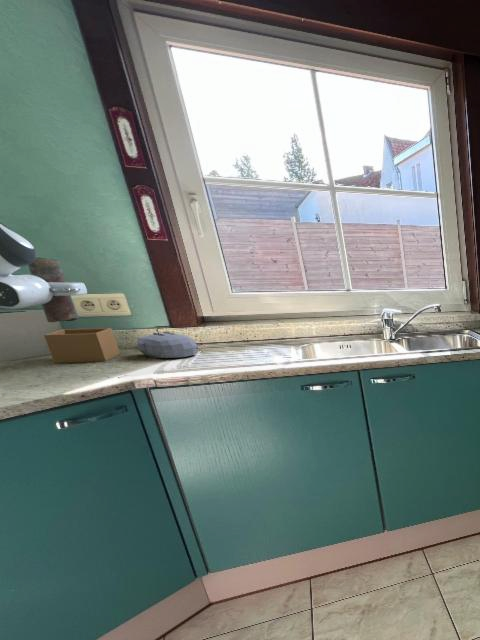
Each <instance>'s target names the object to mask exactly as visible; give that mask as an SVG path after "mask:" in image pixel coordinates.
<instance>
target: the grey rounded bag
mask: <svg viewBox="0 0 480 640" xmlns="http://www.w3.org/2000/svg"><path fill="white" fill-rule="evenodd" d="M136 346H137V347H138V350H139V351H140V353H141V354H143V355H145V356H146V357H149V358H153V359H182V358H186V357H191V356H195V355H197V354H198V343H197V342H196V341H195V340H194V339H192V338H191V337H190V336H189V335H185V334H180V333H174V332H170V331H162V333H161V332H152V334H149V335H145V336H141V337H138V339H137V341H136Z"/></svg>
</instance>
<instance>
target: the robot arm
mask: <svg viewBox="0 0 480 640" xmlns="http://www.w3.org/2000/svg"><path fill="white" fill-rule="evenodd" d="M36 258H37V252H36V248H35V246H34V245H33V243H31V242H30V241H29V240H27V239H26V238H24V237H23V236H21V235H20V234H19V233H17V232H15V231H14V230H12V229H11V228H9V227H8V226H6V225H5V224H3V223H2V222H1V221H0V308H2V309H3V308H4V309H10V310H11V309H12V310H13V309H15V310H16V309H23V308H24V309H25V308H29V307H34V306H42V304H45V303H47V302H49V301H50V300H51V299H52V297H53V296H71V297H72V296H73V297H74V296H83V295H88V290H87V287H86V285H85V283H84V282H81V281H80V282H75V281H73V282H72V281H71V282H67V281H66V282H46V281H45V280H43V279H41V278H39V277H37V276H34V275H31V274H18V275H13V273H15V272H17V271H18V270H20V269H21V268H25V267H28V265H29V264H31V263H33V262H35V261H36Z"/></svg>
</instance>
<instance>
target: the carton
mask: <svg viewBox="0 0 480 640" xmlns="http://www.w3.org/2000/svg"><path fill="white" fill-rule="evenodd" d="M43 337H44V339H45V342H46V344H47V348H48V350H49V352H50V354H51V358H52V361H53V362H54V364H68V363H69V364H70V363H89V362H90V363H91V362H106V361H108V360H111V359H112V358H115V357H118V356H119V355H120V354H121V352H120V349H119V346H118V343H117V340H116V338H115V335H114V331H113V329H112V327H106V328H105V327H104V328H102V327H101V328H67V329H66V328H65V329H64V328H63V329H60V330H56V331H53V332H48V333H46V334H44V335H43Z"/></svg>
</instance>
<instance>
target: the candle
mask: <svg viewBox="0 0 480 640" xmlns="http://www.w3.org/2000/svg"><path fill="white" fill-rule="evenodd" d="M27 267H28V269H29V273H30V275H34V276H37V277H39V278H41V279H43V280H45V281H46V282H67V281H66V279H65V275H64V272H63V270H62V267H61V264H60V261H59V260H58V259H54V258H53V259H51V258H46V257H36V261H35V262H33V263H31V264H29V265H27ZM41 308H42V309H43V312H44V315H45V318H46V321H47V322H48V323H56V322H73V321H76V320H78V319H79V316H78V313H77V309H76V307H75V304H74V301H73V299H72V296H53V297H52V299H51V300H50V301H49V302H47V303H45V304H41Z"/></svg>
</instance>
